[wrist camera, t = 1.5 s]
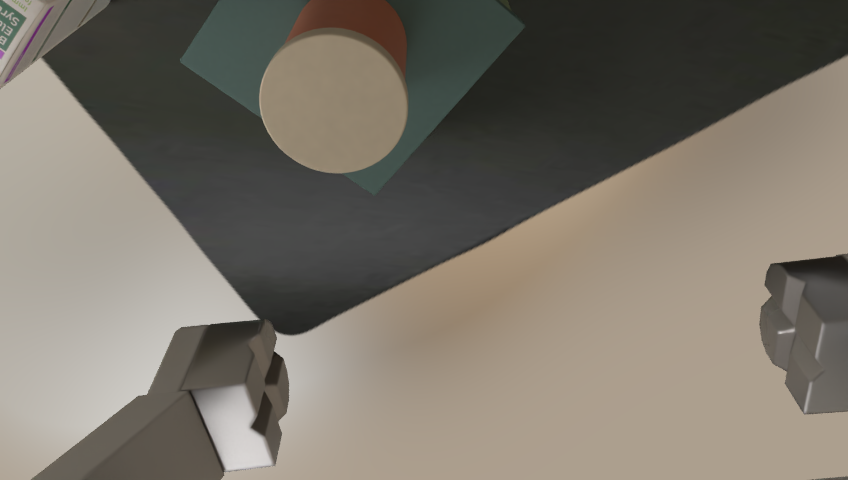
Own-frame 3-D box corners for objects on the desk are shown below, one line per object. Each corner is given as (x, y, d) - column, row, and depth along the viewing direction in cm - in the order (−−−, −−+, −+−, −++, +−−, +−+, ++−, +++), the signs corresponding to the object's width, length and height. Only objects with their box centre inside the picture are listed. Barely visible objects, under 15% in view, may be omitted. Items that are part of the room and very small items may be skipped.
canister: (336, -45, 37) (314, 1, 29) (434, 35, 39) (438, 97, 32) (266, 52, 40) (230, 118, 32) (362, 122, 42) (350, 199, 34)
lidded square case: (333, -165, 40) (318, -155, 34) (512, -7, 45) (525, 26, 39) (210, 25, 46) (179, 61, 40) (380, 147, 51) (374, 196, 45)
